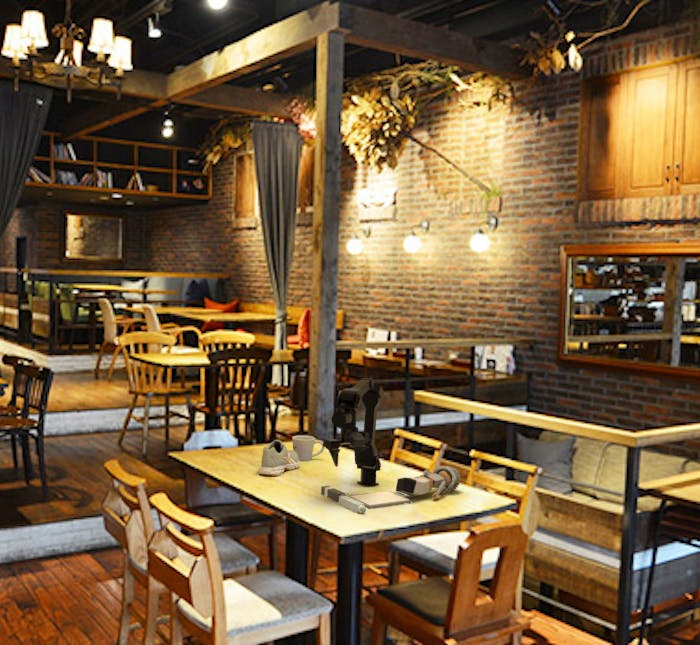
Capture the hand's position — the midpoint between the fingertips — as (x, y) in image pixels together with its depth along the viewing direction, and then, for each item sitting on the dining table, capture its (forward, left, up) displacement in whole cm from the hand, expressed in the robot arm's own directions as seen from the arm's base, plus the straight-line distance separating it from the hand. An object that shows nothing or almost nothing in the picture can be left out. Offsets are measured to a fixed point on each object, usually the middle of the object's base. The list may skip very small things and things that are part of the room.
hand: (346, 465), depth 302 cm
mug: (-63, +21, -13) cm, 67 cm away
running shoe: (-50, 0, -13) cm, 52 cm away
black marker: (-2, -3, -13) cm, 13 cm away
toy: (+9, +34, -13) cm, 37 cm away
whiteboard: (+8, +11, -13) cm, 18 cm away
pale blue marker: (+13, -5, -13) cm, 19 cm away
